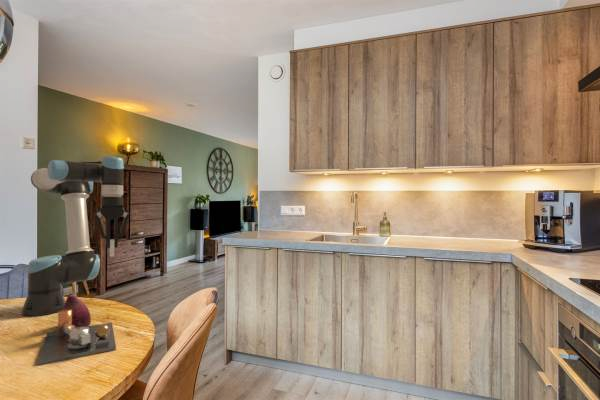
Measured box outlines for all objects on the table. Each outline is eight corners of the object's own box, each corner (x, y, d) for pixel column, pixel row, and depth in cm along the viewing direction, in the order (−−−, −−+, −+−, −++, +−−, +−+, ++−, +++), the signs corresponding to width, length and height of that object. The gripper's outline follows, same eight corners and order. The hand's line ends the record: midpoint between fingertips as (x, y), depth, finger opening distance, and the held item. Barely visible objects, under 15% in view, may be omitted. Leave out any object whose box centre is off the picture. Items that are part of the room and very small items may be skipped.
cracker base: (47, 336, 120) (47, 315, 120) (111, 325, 131) (111, 306, 131) (38, 365, 99) (38, 339, 99) (115, 349, 109) (116, 326, 109)
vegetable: (75, 339, 125) (71, 304, 121) (52, 333, 127) (47, 298, 123) (97, 323, 135) (94, 289, 131) (76, 317, 137) (72, 284, 133)
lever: (95, 343, 108) (95, 321, 108) (76, 348, 104) (76, 326, 104) (71, 327, 121) (71, 308, 121) (54, 331, 117) (54, 311, 117)
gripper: (93, 195, 127) (92, 258, 127) (131, 196, 134) (131, 256, 134) (93, 196, 133) (92, 256, 133) (129, 196, 140) (129, 253, 140)
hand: (111, 256), depth 133 cm, fingers closed
